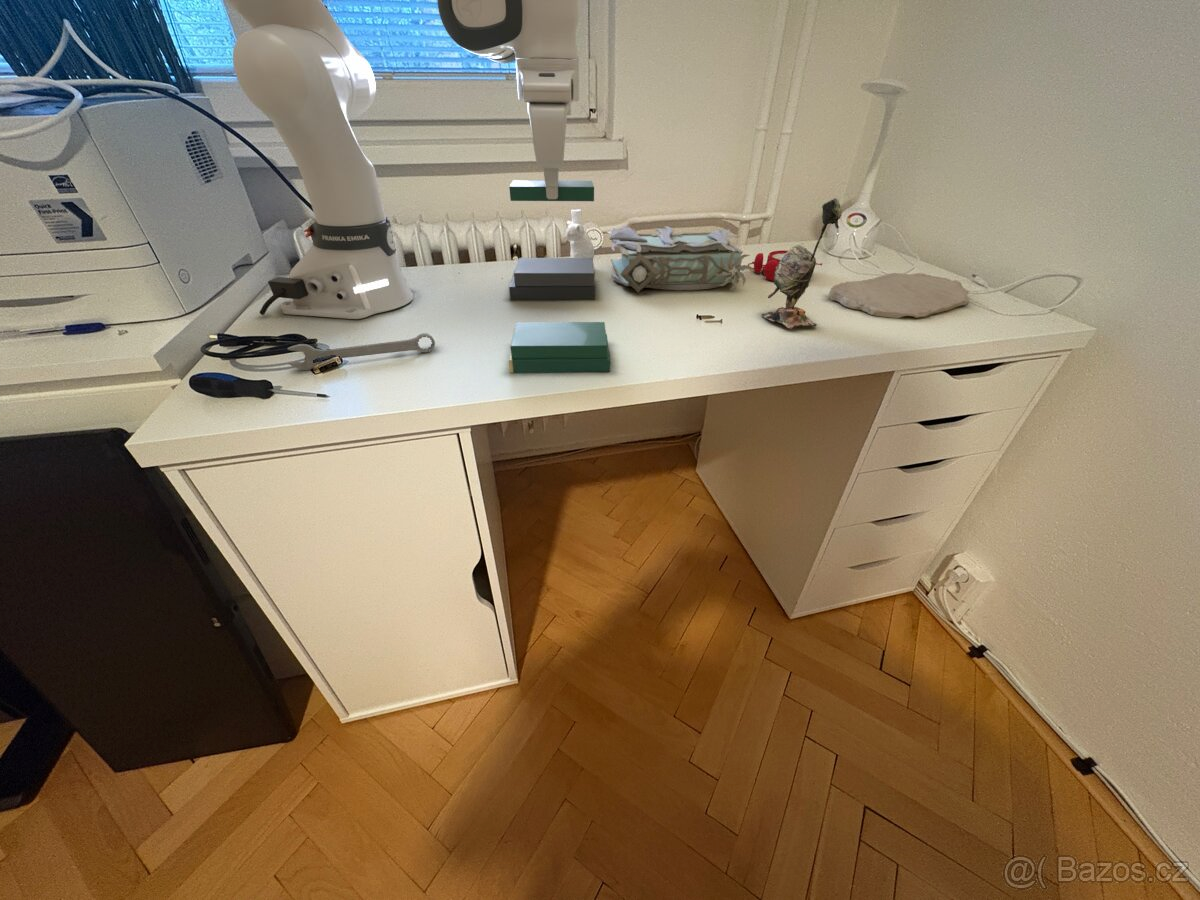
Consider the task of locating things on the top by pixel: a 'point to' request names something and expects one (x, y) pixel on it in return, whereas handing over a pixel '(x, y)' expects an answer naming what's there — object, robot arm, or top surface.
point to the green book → (537, 191)
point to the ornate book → (676, 259)
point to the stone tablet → (901, 295)
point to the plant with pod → (799, 274)
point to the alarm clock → (769, 263)
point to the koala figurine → (578, 237)
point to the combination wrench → (357, 350)
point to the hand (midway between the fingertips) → (552, 194)
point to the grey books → (553, 279)
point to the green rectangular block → (559, 347)
